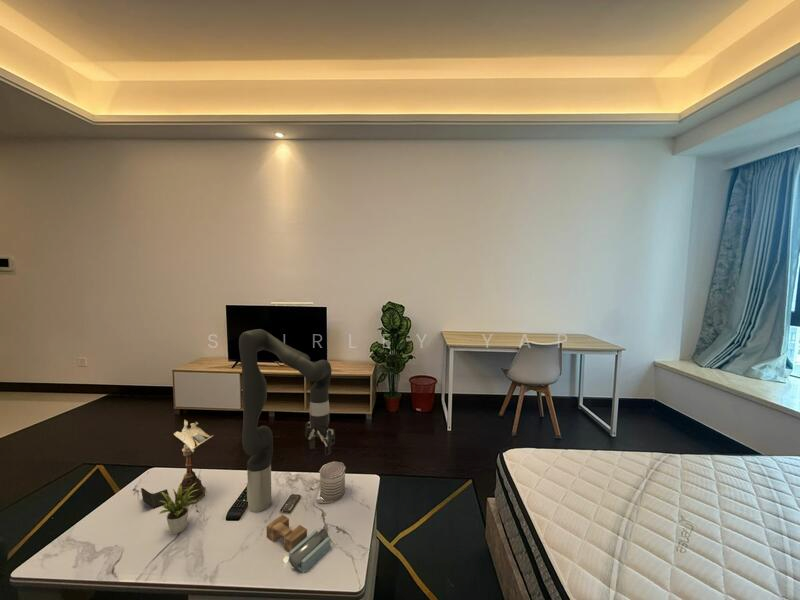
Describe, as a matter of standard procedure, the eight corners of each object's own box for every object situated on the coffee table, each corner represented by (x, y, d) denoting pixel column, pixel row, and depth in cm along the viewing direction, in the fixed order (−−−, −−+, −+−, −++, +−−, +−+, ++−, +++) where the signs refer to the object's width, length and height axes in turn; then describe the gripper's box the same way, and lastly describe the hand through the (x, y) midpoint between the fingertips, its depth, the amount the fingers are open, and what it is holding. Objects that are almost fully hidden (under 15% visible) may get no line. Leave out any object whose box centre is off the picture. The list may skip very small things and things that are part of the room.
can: (349, 496, 145) (349, 470, 144) (325, 506, 139) (325, 479, 138) (339, 483, 155) (339, 458, 154) (315, 491, 148) (315, 466, 147)
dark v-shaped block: (176, 496, 142) (157, 485, 138) (161, 513, 138) (141, 502, 133) (167, 489, 149) (149, 478, 145) (153, 506, 145) (134, 495, 140)
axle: (297, 570, 107) (297, 559, 106) (289, 564, 109) (289, 553, 109) (328, 542, 119) (328, 531, 118) (320, 537, 121) (320, 526, 120)
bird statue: (223, 490, 149) (221, 415, 147) (200, 509, 136) (197, 428, 134) (193, 485, 153) (191, 411, 151) (168, 503, 140) (165, 423, 138)
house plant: (207, 529, 126) (205, 488, 125) (163, 550, 115) (161, 506, 114) (195, 511, 135) (194, 473, 134) (154, 529, 125) (152, 488, 124)
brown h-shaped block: (266, 537, 122) (266, 523, 121) (282, 525, 128) (282, 511, 127) (291, 554, 114) (291, 539, 114) (307, 541, 120) (306, 526, 120)
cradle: (288, 561, 111) (288, 551, 111) (315, 538, 121) (315, 529, 121) (304, 572, 107) (304, 562, 107) (330, 547, 117) (330, 538, 117)
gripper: (339, 412, 128) (339, 452, 129) (314, 404, 136) (314, 442, 136) (325, 419, 122) (325, 461, 122) (299, 410, 129) (300, 450, 130)
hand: (319, 451), depth 129 cm, fingers open, 8 cm apart
